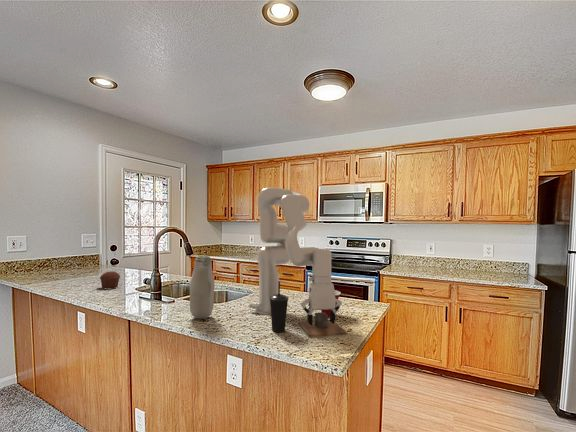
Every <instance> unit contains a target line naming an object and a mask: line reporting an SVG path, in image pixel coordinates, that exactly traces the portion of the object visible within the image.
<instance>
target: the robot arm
mask: <svg viewBox="0 0 576 432" xmlns="http://www.w3.org/2000/svg"><path fill="white" fill-rule="evenodd" d="M273 206H280V208H281V211H282V213H283V217H284V220H285V223H286V224H283V223H278V214H277V212H276V209H275V208H274V207H273ZM257 207H258V213H259V233H260V234H259V235H260V236H259V237H260V240H261V242H262V243H265V244H276V245H267V246H263V247H261V248H259V249H258V250H257V251H258V252H257V263H258V264H257V265H258V281H259V282H258V300H257V302H255V303H249V304H248V308H249V309H252V310H255V313H256V314H258V315H261V316H271V307H270V299H269V297H270V296H273V295H275V294H278V281H280V275H279V271H278V269H277V267H276V266H280V265H281V266H282V265H286V264H289V263H290V262H291V264H292V265H294V266H295V267H305V266H312V269H311V270H312V271H311V272H312V273H311V274H312V275H311V277H309V278H308V280H309V282H311V283H310V286H309V291H308V298H307V299H305V300H304V301H302V302H301V303H300V305H301V307H302V310H303V311H304V312H305V313H306V314H307V320H306V321H308V323H309V324H310V325H312V324H313V321H314V320H313V318H314V317H313V312H314V311H321V310H329V309H330V310H331V312H330V317H329V320H330V322H331V323H333V324H334V323H336V322H335V321H336V314H337V312H338V311H339V309H340V307H341V306H342V305H343V304H342V303H343V302H342V301H341V300H340V299H339V298H338V299H336V298H335V291H334V290H335V287H334V283H333V282H332V251H331V249H327V248H319V247H314V246H309V247H308V246H306V247H304V246H303V247H301V246H300V244H299V240H298V234H299V232H301V231H302V230H303V229H305V228H306V227H307V224H308V223H307V219H306V217H305V213H307V212H308V211H309V209H310V200H309V198H308V197H307V196H306V195H305V194H301V193H300V192H296V191H294V190H292V189H288V188H282V187H281V188H280V187H272V186H271V187H265V188H262V190H261V191H260V192H259V193H258V196H257ZM335 302H337V305H336V306H335ZM307 305H308V307H307Z"/></svg>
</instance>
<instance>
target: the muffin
mask: <svg viewBox="0 0 576 432" xmlns="http://www.w3.org/2000/svg"><path fill="white" fill-rule="evenodd" d="M120 278H121V276H120V273H118V272H117V271H112V270H111V271H106V272H104V273H102V274H101V276H100V277H99V280H100V285H101V289H102V288H112V289H116V288H115V287H117V288H118V286H119V282H120V281H119V280H120Z"/></svg>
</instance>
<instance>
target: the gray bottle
mask: <svg viewBox="0 0 576 432" xmlns="http://www.w3.org/2000/svg"><path fill="white" fill-rule="evenodd" d="M212 261H213V260H212V258H211V256H209V255H205V254H201V255H198V256H196V258H195V259H194V266H193V271H192V275H191V278H190V282H189V312H190V314H191V316H192V317H193V318H195V319H197V320H203V319H207V318H209V317H210V316H211V315H212V313H213V310H214V304H215V303H214V301H215V279H214V278H215V277H214V273H213V267H212V265H213V263H212Z"/></svg>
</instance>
